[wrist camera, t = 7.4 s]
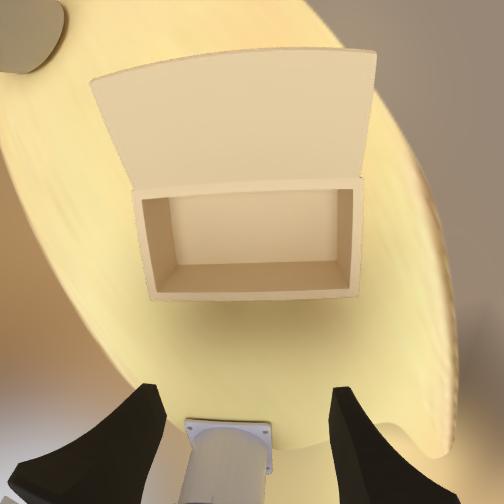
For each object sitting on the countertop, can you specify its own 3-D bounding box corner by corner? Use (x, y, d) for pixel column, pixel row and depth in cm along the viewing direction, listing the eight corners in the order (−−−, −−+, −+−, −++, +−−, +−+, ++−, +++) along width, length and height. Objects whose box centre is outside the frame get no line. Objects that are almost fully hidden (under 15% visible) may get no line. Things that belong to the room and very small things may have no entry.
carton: (342, 264, 20) (357, 296, 16) (173, 268, 21) (150, 300, 17) (343, 169, 18) (363, 178, 14) (162, 178, 19) (131, 190, 14)
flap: (376, 53, 9) (373, 50, 9) (88, 83, 10) (93, 78, 10) (359, 178, 13) (357, 172, 14) (134, 190, 14) (136, 184, 15)
